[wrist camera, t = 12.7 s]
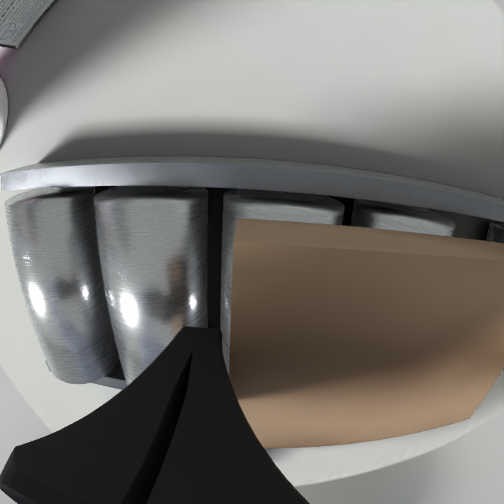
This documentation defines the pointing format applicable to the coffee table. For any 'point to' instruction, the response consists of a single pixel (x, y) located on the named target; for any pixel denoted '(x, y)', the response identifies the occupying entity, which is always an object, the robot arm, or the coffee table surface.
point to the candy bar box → (20, 19)
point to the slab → (361, 330)
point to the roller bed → (174, 243)
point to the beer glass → (3, 109)
